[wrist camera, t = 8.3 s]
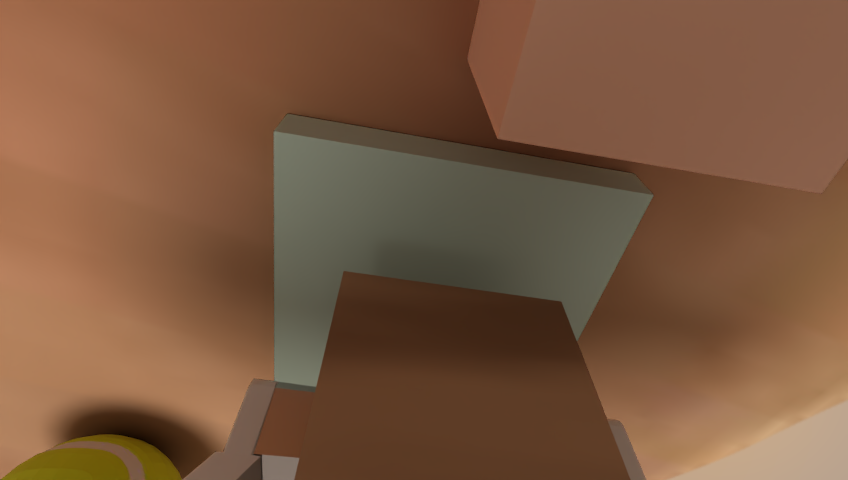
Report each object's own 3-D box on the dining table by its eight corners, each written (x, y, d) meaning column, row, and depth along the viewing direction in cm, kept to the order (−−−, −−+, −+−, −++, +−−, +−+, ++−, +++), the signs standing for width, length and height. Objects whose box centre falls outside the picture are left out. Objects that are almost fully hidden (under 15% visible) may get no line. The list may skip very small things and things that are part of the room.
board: (287, 113, 11) (273, 130, 10) (634, 173, 12) (653, 195, 11) (283, 362, 16) (274, 390, 15) (529, 390, 17) (536, 419, 16)
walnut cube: (343, 271, 10) (286, 512, 6) (561, 301, 10) (655, 543, 6) (328, 411, 13) (282, 644, 8) (501, 430, 13) (539, 658, 9)
